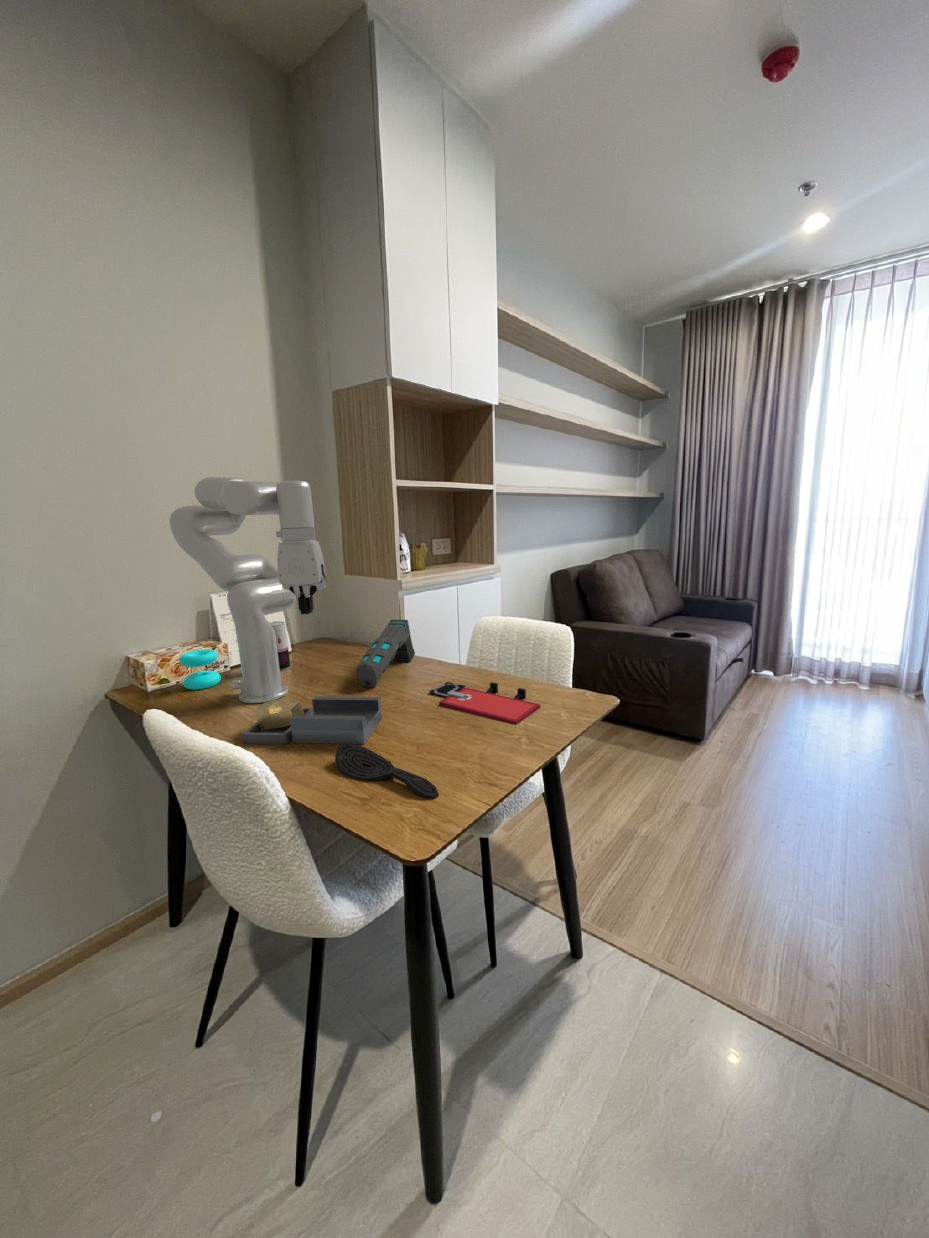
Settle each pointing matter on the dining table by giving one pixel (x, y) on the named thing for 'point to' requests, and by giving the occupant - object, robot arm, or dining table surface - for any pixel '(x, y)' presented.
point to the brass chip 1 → (266, 714)
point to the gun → (386, 652)
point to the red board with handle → (486, 702)
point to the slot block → (338, 720)
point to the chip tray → (269, 734)
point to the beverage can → (281, 644)
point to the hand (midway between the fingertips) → (306, 613)
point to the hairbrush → (379, 769)
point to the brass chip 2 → (286, 714)
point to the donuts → (204, 677)
